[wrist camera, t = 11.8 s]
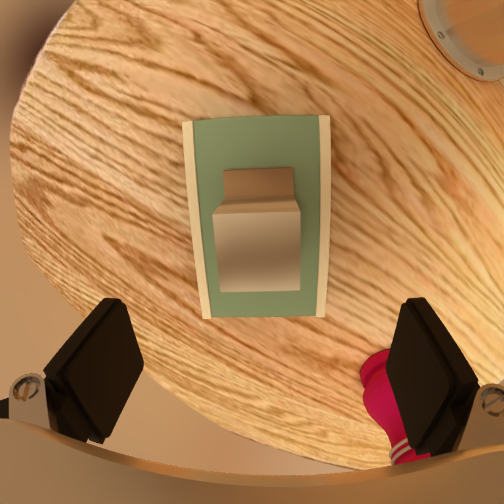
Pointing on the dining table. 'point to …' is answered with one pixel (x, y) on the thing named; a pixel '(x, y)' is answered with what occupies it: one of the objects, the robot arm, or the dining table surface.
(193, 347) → the dining table surface
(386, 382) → the pepper mill
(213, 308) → the dock
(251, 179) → the butter dish
